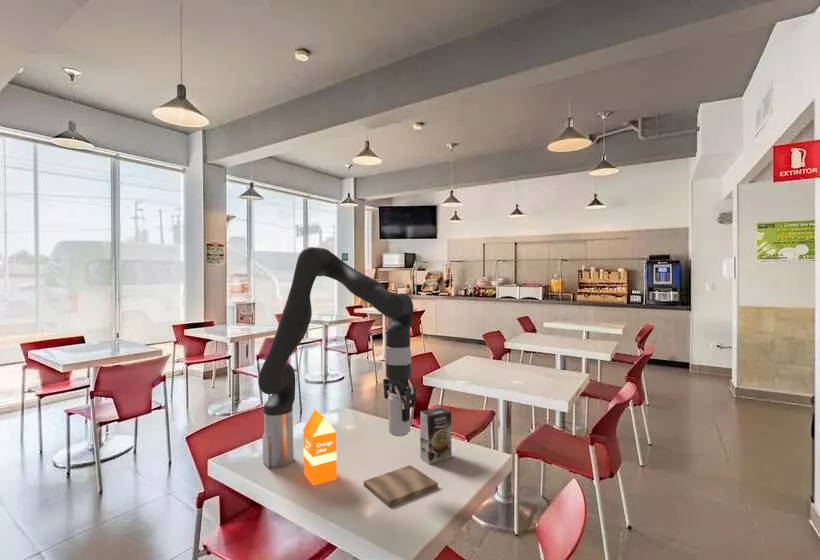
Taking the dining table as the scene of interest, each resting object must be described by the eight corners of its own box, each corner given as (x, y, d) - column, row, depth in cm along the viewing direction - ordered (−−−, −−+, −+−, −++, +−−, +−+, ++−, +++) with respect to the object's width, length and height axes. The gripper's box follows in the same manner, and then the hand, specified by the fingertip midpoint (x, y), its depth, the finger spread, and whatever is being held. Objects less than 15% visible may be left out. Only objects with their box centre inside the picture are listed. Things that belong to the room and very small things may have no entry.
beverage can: (407, 438, 119) (407, 396, 119) (386, 436, 120) (385, 395, 120) (412, 429, 125) (411, 390, 125) (391, 428, 126) (391, 389, 126)
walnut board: (389, 507, 112) (389, 501, 112) (363, 486, 124) (363, 481, 124) (437, 487, 122) (437, 482, 122) (410, 469, 133) (410, 465, 133)
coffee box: (429, 465, 137) (428, 416, 136) (419, 457, 142) (419, 410, 142) (452, 458, 141) (452, 411, 141) (442, 451, 147) (441, 406, 146)
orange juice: (312, 485, 124) (311, 419, 124) (303, 474, 132) (302, 411, 131) (337, 478, 128) (336, 414, 128) (327, 467, 136) (326, 406, 136)
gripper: (375, 359, 126) (375, 413, 126) (401, 367, 114) (402, 427, 115) (395, 356, 130) (396, 408, 131) (423, 363, 119) (424, 421, 119)
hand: (399, 417), depth 123 cm, fingers closed on beverage can, 6 cm apart
